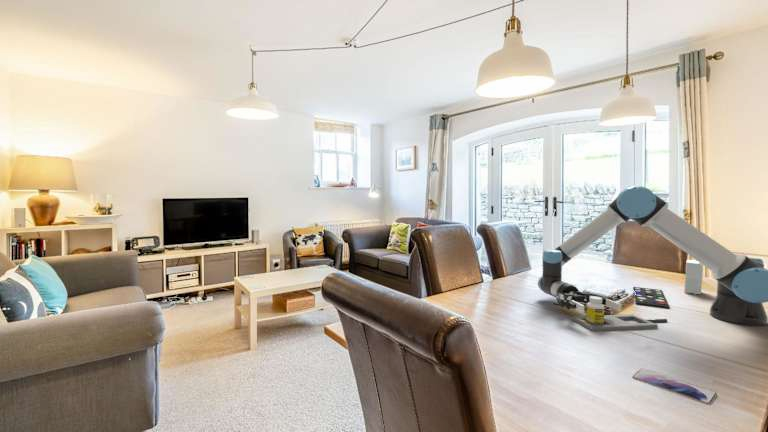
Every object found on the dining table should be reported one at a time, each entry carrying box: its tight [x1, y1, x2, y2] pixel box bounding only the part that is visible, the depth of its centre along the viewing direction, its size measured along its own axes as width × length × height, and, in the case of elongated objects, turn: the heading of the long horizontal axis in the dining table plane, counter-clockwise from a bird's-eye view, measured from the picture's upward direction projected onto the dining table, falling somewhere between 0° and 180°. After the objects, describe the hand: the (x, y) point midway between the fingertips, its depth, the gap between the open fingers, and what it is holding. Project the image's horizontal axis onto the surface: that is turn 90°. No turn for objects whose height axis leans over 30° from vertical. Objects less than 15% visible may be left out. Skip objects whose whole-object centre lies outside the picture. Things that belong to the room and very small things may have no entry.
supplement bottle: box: [585, 296, 605, 325], centre depth 126 cm, size 5×5×10 cm
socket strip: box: [571, 313, 668, 332], centre depth 127 cm, size 32×11×2 cm, turn 95°
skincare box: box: [683, 259, 704, 295], centre depth 166 cm, size 8×6×15 cm
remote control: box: [632, 286, 671, 310], centre depth 159 cm, size 11×30×2 cm, turn 147°
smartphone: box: [631, 368, 718, 406], centre depth 85 cm, size 7×1×15 cm
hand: (601, 308), depth 122 cm, fingers open, 13 cm apart
